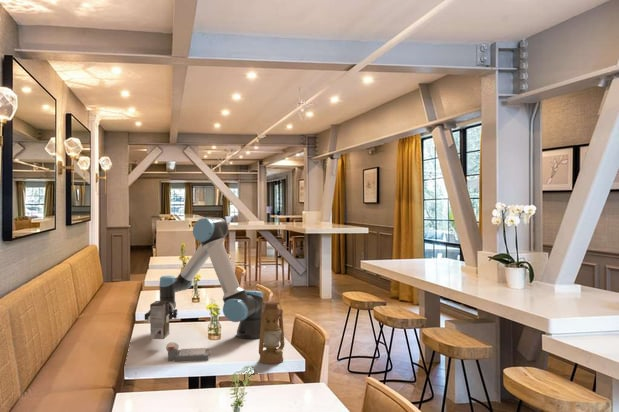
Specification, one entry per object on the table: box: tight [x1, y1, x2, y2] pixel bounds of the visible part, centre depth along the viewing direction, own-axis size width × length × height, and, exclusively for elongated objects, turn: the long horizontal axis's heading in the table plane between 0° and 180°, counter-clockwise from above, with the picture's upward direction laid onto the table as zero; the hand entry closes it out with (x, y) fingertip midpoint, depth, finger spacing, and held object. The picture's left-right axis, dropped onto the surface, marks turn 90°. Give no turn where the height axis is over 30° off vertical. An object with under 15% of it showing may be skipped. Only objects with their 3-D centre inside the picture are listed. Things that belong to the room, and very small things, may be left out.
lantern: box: [258, 290, 285, 365], centre depth 218 cm, size 15×10×30 cm
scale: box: [165, 341, 210, 363], centre depth 222 cm, size 18×10×8 cm, turn 98°
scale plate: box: [179, 347, 207, 356], centre depth 222 cm, size 11×9×1 cm
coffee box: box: [149, 300, 171, 340], centre depth 235 cm, size 9×6×16 cm
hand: (158, 319), depth 230 cm, fingers closed on coffee box, 7 cm apart
